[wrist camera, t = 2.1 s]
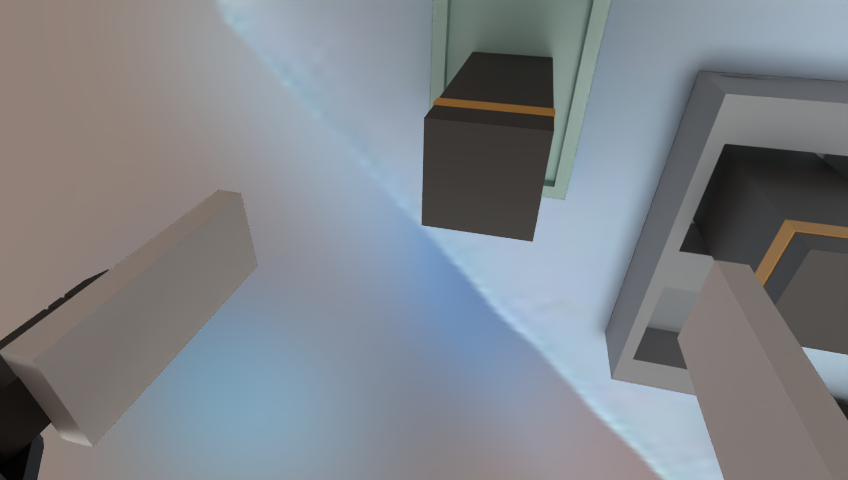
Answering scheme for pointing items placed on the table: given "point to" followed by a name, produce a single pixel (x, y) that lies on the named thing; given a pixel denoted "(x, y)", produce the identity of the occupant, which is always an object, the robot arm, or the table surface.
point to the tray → (532, 36)
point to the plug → (489, 146)
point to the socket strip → (682, 194)
